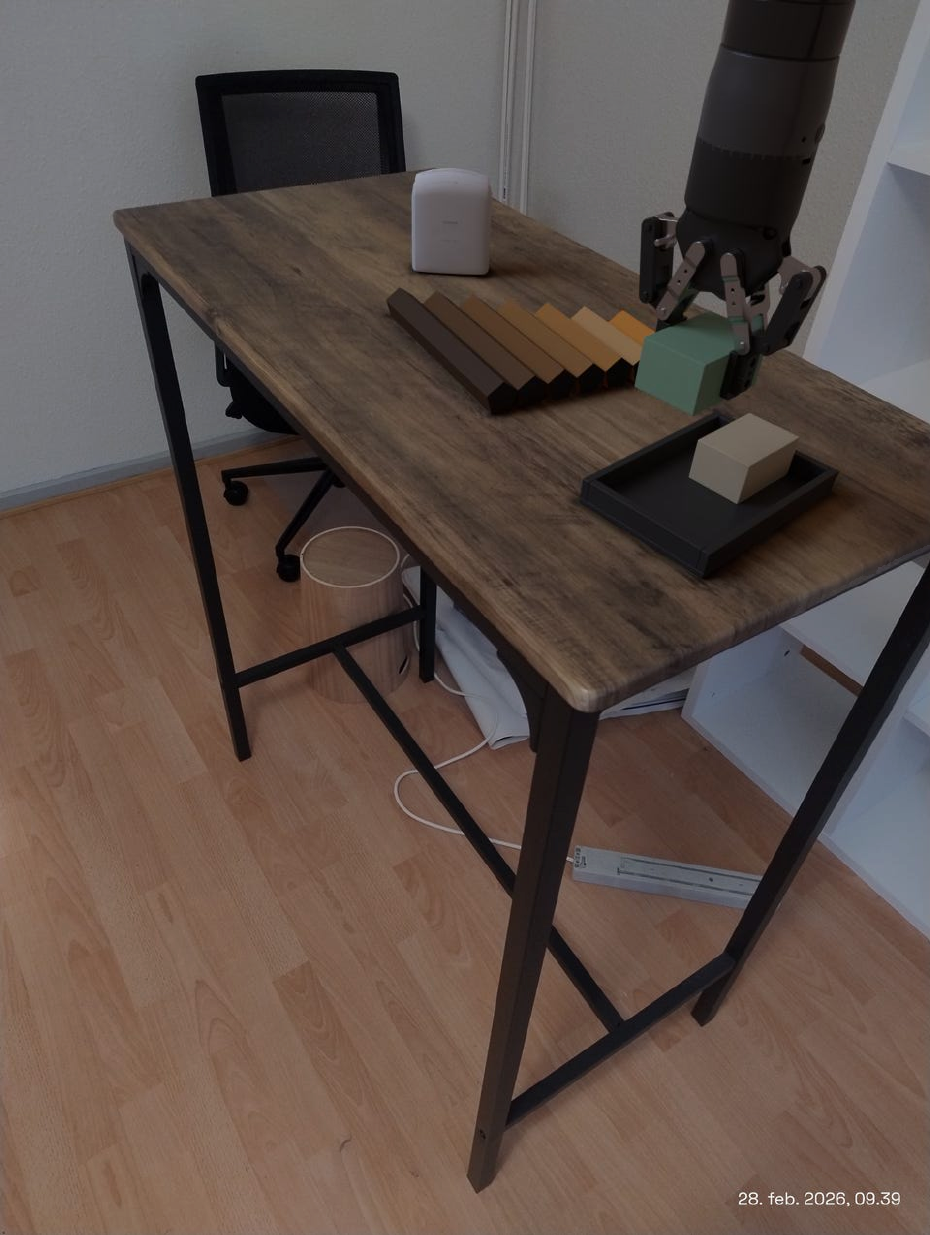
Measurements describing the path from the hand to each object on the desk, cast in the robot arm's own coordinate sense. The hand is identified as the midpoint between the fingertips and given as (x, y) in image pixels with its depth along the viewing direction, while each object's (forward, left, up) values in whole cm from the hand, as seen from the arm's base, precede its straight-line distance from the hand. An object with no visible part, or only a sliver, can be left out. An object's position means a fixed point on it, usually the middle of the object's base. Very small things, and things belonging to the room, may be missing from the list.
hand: (697, 379), depth 66 cm
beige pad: (0, -11, -13) cm, 17 cm away
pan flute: (+32, -16, -14) cm, 38 cm away
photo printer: (+54, -23, -14) cm, 60 cm away
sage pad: (0, 0, -1) cm, 1 cm away
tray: (0, -7, -14) cm, 15 cm away
